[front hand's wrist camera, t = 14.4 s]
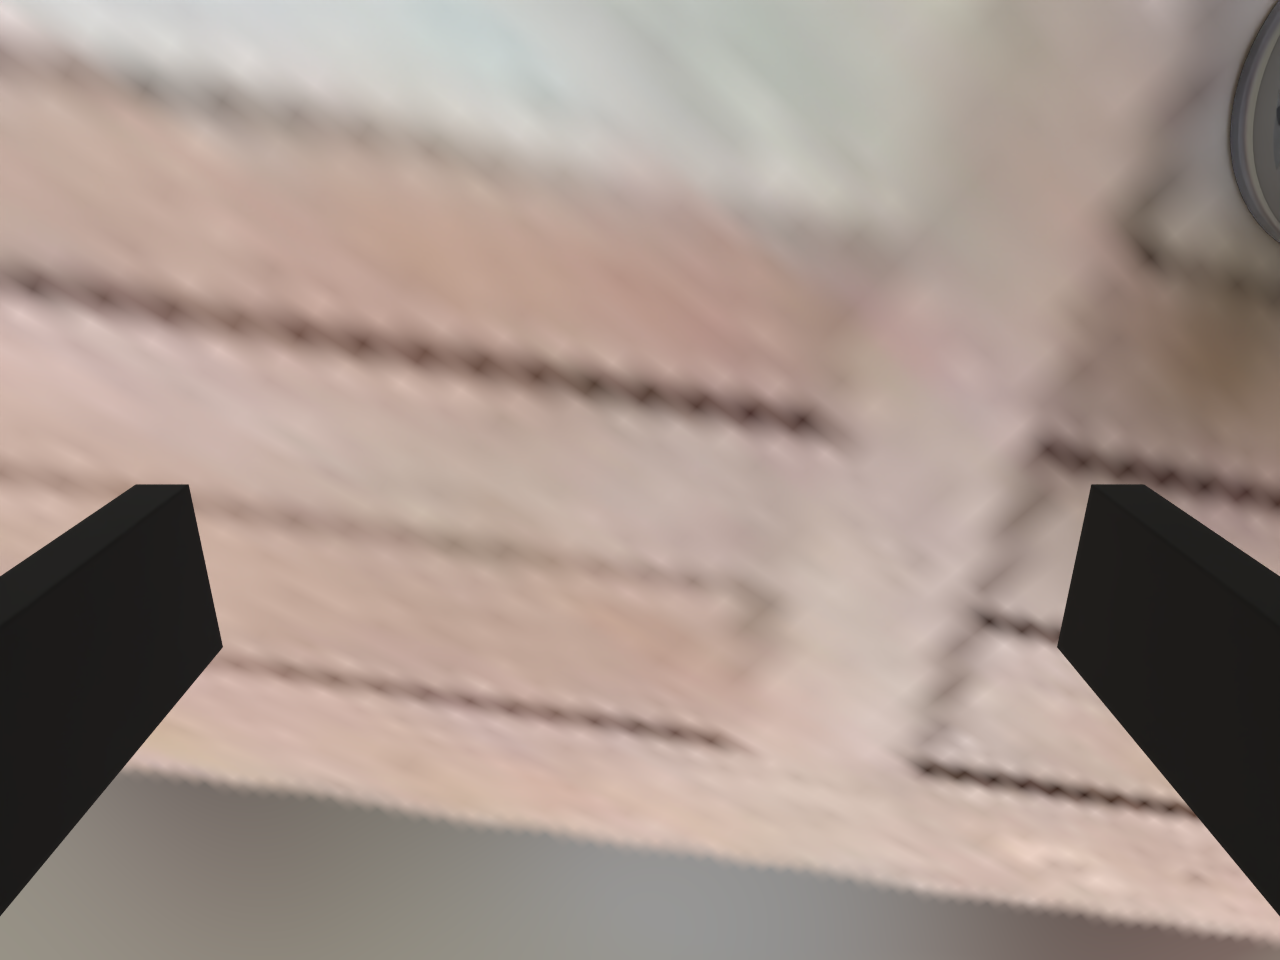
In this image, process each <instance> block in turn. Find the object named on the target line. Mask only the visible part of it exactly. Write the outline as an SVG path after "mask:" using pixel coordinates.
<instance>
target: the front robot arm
mask: <svg viewBox="0 0 1280 960" xmlns="http://www.w3.org/2000/svg"><path fill="white" fill-rule="evenodd" d="M1230 137H1231V155H1232V162H1233V169H1234V173H1235V177H1236V181H1237V184H1238V187H1239V189H1240V192H1241V195H1242V197H1243V199H1244V201H1245V203H1246V205H1247V207H1248V209H1249V211H1250V212H1251V213H1252V215H1253V216H1254V218H1255V219H1256V221H1257V222H1258V223H1259V224H1260V225H1261V227H1262V228H1263V229H1264V230H1265V231H1266V232H1267V233H1268V234H1269V235H1270V236H1272V237H1273V238H1274V239H1275V240H1276V241H1277V242H1279V243H1280V0H1279V1H1278V2H1277V4H1276V5H1275V7H1274V8H1273V9H1272V11H1271V13H1270V14H1269V16H1268V18H1267V19H1266V21H1265V22H1264V24H1263V26H1262V27H1261V29H1260V31H1259V33H1258V35H1257V37H1256V39H1255V41H1254V43H1253V45H1252V47H1251V50H1250V52H1249V54H1248V57H1247V59H1246V61H1245V64H1244V67H1243V70H1242V73H1241V76H1240V79H1239V82H1238V86H1237V90H1236V94H1235V99H1234V104H1233V111H1232V117H1231V134H1230ZM222 648H223V646H222V641H221V636H220V631H219V627H218V622H217V617H216V612H215V608H214V603H213V598H212V593H211V589H210V584H209V579H208V574H207V570H206V565H205V560H204V555H203V551H202V546H201V541H200V536H199V532H198V527H197V522H196V517H195V513H194V508H193V503H192V498H191V494H190V489H189V485H134V486H133V487H132V488H130V489H129V490H127V491H126V492H124V493H123V494H121V495H120V496H118V497H117V498H115V499H114V500H112V501H111V502H109V503H108V504H106V505H105V506H103V507H102V508H101V509H99V510H98V511H96V512H95V513H93V514H92V515H90V516H89V517H87V518H86V519H84V520H83V521H81V522H80V523H78V524H77V525H75V526H74V527H72V528H71V529H70V530H68V531H67V532H65V533H64V534H62V535H61V536H59V537H58V538H56V539H55V540H53V541H52V542H50V543H49V544H47V545H46V546H44V547H43V548H41V549H40V550H39V551H37V552H36V553H34V554H33V555H31V556H30V557H28V558H27V559H25V560H24V561H22V562H21V563H19V564H18V565H16V566H15V567H13V568H12V569H10V570H9V571H8V572H6V573H5V574H3V575H2V576H0V916H1V914H2V913H3V912H4V911H5V910H6V908H7V907H8V906H9V905H10V904H11V902H12V901H13V900H14V899H15V898H16V896H17V895H18V894H19V893H20V892H21V890H22V889H23V888H24V887H25V886H26V884H27V883H28V882H29V881H30V880H31V878H32V877H33V876H34V875H35V873H36V872H37V871H38V870H39V869H40V867H41V866H42V865H43V864H44V863H45V861H46V860H47V859H48V858H49V857H50V855H51V854H52V853H53V852H54V851H55V849H56V848H57V847H58V846H59V844H60V843H61V842H62V841H63V840H64V838H65V837H66V836H67V835H68V834H69V832H70V831H71V830H72V829H73V828H74V826H75V825H76V824H77V823H78V822H79V820H80V819H81V818H82V817H83V815H84V814H85V813H86V812H87V811H88V809H89V808H90V807H91V806H92V805H93V803H94V802H95V801H96V800H97V798H98V797H99V796H100V795H101V794H102V793H103V791H104V790H105V789H106V788H107V786H108V785H109V784H110V783H111V782H112V780H113V779H114V778H115V777H116V776H117V774H118V773H119V772H120V771H121V770H122V768H123V767H124V766H125V765H126V764H127V762H128V761H129V760H130V759H131V757H132V756H133V755H134V754H135V753H136V751H137V750H138V749H139V748H140V747H141V745H142V744H143V743H144V742H145V741H146V739H147V738H148V737H149V736H150V735H151V733H152V732H153V731H154V730H155V728H156V727H157V726H158V725H159V724H160V722H161V721H162V720H163V719H164V718H165V716H166V715H167V714H168V713H169V712H170V710H171V709H172V708H173V707H174V706H175V704H176V703H177V702H178V701H179V699H180V698H181V697H182V696H183V695H184V693H185V692H186V691H187V690H188V689H189V687H190V686H191V685H192V684H193V683H194V681H195V680H196V679H197V678H198V677H199V675H200V674H201V673H202V672H203V670H204V669H205V668H206V667H207V666H208V664H209V663H210V662H211V661H212V660H213V658H214V657H215V656H216V655H217V654H218V652H219V651H220V650H221V649H222ZM1057 648H1058V649H1059V650H1060V651H1061V652H1062V654H1063V655H1064V656H1065V657H1066V658H1067V660H1068V661H1069V662H1070V663H1071V664H1072V666H1073V667H1074V668H1075V669H1076V670H1077V672H1078V673H1079V674H1080V675H1081V677H1082V678H1083V679H1084V680H1085V681H1086V683H1087V684H1088V685H1089V686H1090V687H1091V689H1092V690H1093V691H1094V692H1095V693H1096V695H1097V696H1098V697H1099V698H1100V699H1101V701H1102V702H1103V703H1104V704H1105V706H1106V707H1107V708H1108V709H1109V710H1110V712H1111V713H1112V714H1113V715H1114V716H1115V718H1116V719H1117V720H1118V721H1119V722H1120V724H1121V725H1122V726H1123V727H1124V728H1125V730H1126V731H1127V732H1128V733H1129V735H1130V736H1131V737H1132V738H1133V739H1134V741H1135V742H1136V743H1137V744H1138V745H1139V747H1140V748H1141V749H1142V750H1143V751H1144V753H1145V754H1146V755H1147V756H1148V757H1149V759H1150V760H1151V761H1152V762H1153V764H1154V765H1155V766H1156V767H1157V768H1158V770H1159V771H1160V772H1161V773H1162V774H1163V776H1164V777H1165V778H1166V779H1167V780H1168V782H1169V783H1170V784H1171V785H1172V786H1173V788H1174V789H1175V790H1176V791H1177V793H1178V794H1179V795H1180V796H1181V797H1182V799H1183V800H1184V801H1185V802H1186V803H1187V805H1188V806H1189V807H1190V808H1191V809H1192V811H1193V812H1194V813H1195V814H1196V815H1197V817H1198V818H1199V819H1200V820H1201V822H1202V823H1203V824H1204V825H1205V826H1206V828H1207V829H1208V830H1209V831H1210V832H1211V834H1212V835H1213V836H1214V837H1215V838H1216V840H1217V841H1218V842H1219V843H1220V844H1221V846H1222V847H1223V848H1224V849H1225V851H1226V852H1227V853H1228V854H1229V855H1230V857H1231V858H1232V859H1233V860H1234V861H1235V863H1236V864H1237V865H1238V866H1239V867H1240V869H1241V870H1242V871H1243V872H1244V873H1245V875H1246V876H1247V877H1248V878H1249V880H1250V881H1251V882H1252V883H1253V884H1254V886H1255V887H1256V888H1257V889H1258V890H1259V892H1260V893H1261V894H1262V895H1263V896H1264V898H1265V899H1266V900H1267V901H1268V902H1269V904H1270V905H1271V906H1272V907H1273V909H1274V910H1275V911H1276V912H1277V913H1278V915H1279V916H1280V576H1278V575H1277V574H1275V573H1274V572H1272V571H1271V570H1270V569H1268V568H1267V567H1265V566H1264V565H1262V564H1261V563H1259V562H1258V561H1256V560H1255V559H1253V558H1252V557H1250V556H1249V555H1247V554H1246V553H1244V552H1243V551H1241V550H1240V549H1239V548H1237V547H1236V546H1234V545H1233V544H1231V543H1230V542H1228V541H1227V540H1225V539H1224V538H1222V537H1221V536H1219V535H1218V534H1216V533H1215V532H1213V531H1212V530H1210V529H1209V528H1208V527H1206V526H1205V525H1203V524H1202V523H1200V522H1199V521H1197V520H1196V519H1194V518H1193V517H1191V516H1190V515H1188V514H1187V513H1185V512H1184V511H1182V510H1181V509H1179V508H1178V507H1177V506H1175V505H1174V504H1172V503H1171V502H1169V501H1168V500H1166V499H1165V498H1163V497H1162V496H1160V495H1159V494H1157V493H1156V492H1154V491H1153V490H1151V489H1150V488H1148V487H1147V486H1146V485H1091V489H1090V494H1089V498H1088V503H1087V508H1086V513H1085V517H1084V522H1083V527H1082V532H1081V536H1080V541H1079V546H1078V551H1077V555H1076V560H1075V565H1074V570H1073V574H1072V579H1071V584H1070V589H1069V593H1068V598H1067V603H1066V608H1065V612H1064V617H1063V622H1062V627H1061V631H1060V636H1059V641H1058V646H1057Z"/></svg>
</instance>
